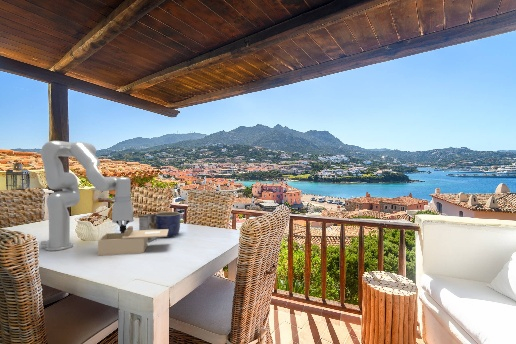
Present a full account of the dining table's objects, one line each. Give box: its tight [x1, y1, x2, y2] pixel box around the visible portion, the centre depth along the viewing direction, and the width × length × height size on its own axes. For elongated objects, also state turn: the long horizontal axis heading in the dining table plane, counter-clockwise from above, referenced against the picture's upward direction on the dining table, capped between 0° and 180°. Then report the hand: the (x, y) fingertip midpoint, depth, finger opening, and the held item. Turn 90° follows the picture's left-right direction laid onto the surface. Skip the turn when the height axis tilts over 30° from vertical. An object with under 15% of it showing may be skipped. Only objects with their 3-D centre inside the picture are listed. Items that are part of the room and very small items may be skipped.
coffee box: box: [138, 213, 157, 244], centre depth 172 cm, size 9×6×16 cm
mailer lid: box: [122, 225, 169, 239], centre depth 155 cm, size 22×15×4 cm
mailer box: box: [97, 232, 148, 257], centre depth 152 cm, size 22×15×8 cm
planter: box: [155, 211, 181, 238], centre depth 185 cm, size 17×16×15 cm
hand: (122, 232), depth 152 cm, fingers closed
